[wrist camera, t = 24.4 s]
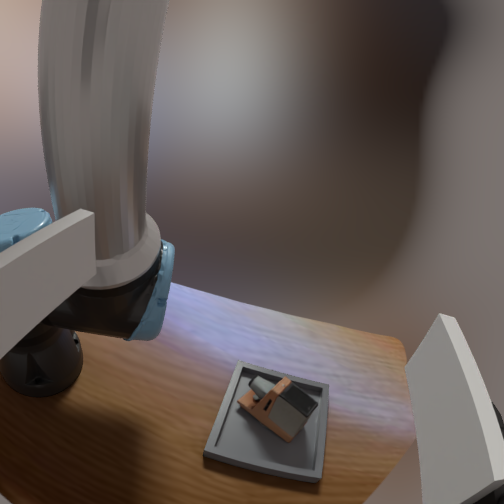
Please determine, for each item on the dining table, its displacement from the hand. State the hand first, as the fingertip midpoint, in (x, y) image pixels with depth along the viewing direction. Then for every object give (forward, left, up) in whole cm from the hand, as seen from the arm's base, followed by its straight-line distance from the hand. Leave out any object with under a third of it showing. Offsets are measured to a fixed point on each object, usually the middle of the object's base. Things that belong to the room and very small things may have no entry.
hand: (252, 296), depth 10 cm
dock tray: (+6, +17, -32) cm, 37 cm away
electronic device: (+5, +17, -31) cm, 36 cm away
